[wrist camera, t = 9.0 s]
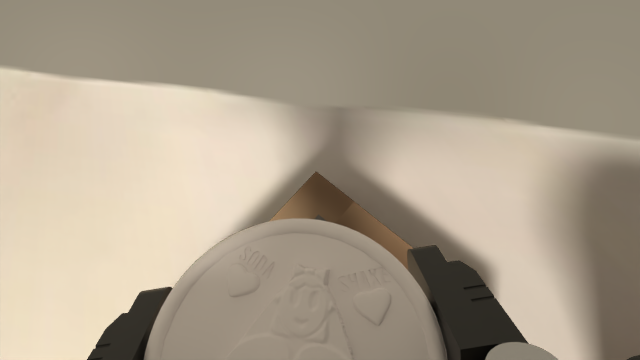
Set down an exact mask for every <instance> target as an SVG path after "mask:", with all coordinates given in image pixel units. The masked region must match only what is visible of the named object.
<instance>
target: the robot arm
mask: <svg viewBox="0 0 640 360" xmlns="http://www.w3.org/2000/svg"><path fill="white" fill-rule="evenodd" d="M407 262H408V271H409V272H410V274H411V275H412V276H413V277H414V279H415V280H416V282H417V283H418V284H419V286H420V287H421V289H422V290H423V292H424V294H425V296H426V297H427V299H428V301H429V303H430V305H431V307H432V309H433V311H434V313H435V315H436V318H437V321H438V324H439V326H440V329H441V332H442V336H443V340H444V344H445V348H446V353H447V359H448V360H558V359H557V358H556V357H554V356H553V355H552V354H550V353H549V352H547V351H546V350H544V349H542V348H540V347H537V346H534V345H531V344H528V342H527V341H526V340H525V338H524V337H523V335H522V334H521V333H520V331H519V330H518V329H517V327H516V326H515V324H514V323H513V322H512V320H511V319H510V317H509V316H508V315H507V313H506V312H505V311H504V309H503V308H502V306H501V305H500V304H499V302H498V301H497V300H496V299H494V295H493V294H492V293H491V291H490V290H489V289H488V287H486V285H485V283H484V282H483V280H482V279H481V278H480V276H479V275H478V273H477V272H476V271H475V270H474V269H472V268H471V267H469V266H467V265H466V264H464V263H463V262H461V261H453V262H447V261H446V260H445V258H444V257H443V255H442V254H441V252H440V250H439V249H438V247H437V246H436V245H432V246H426V247H419V248H413V249H408V251H407ZM172 289H173V288H171V287H165V288H159V289H153V290H146V291H142V292H140V293H139V295H138V296H137V298H136V300H135V302H134V303H133V305H132V307H131V309H130V310H129V312H128V313H123V314H121V315H120V316H119V317H118V318H117V319H116V320H115V321H114V322H113V323H112V324H111V325H109V326H108V327H107V328H106V329H105V331H104V333H103V334H102V336H101V338H100V339H99V341H98V342H97V344H96V349H93V351H92V352H91V354H90V356H89V357H88V359H87V360H144V355H145V351H146V347H147V343H148V340H149V336H150V333H151V331H152V328H153V325H154V322H155V320H156V318H157V316H158V314H159V312H160V309H161V307H162V306H163V304H164V302H165V300H166V298H167V297H168V295H169V293H170V292H171V291H172ZM627 360H640V355H638V356H634V357H631V358H629V359H627Z"/></svg>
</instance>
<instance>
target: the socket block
mask: <svg viewBox="0 0 640 360" xmlns="http://www.w3.org/2000/svg"><path fill="white" fill-rule="evenodd" d="M292 218H301V219H315V220H322V221H327V222H332V223H335V224H339V225H342V226H345V227H348V228H350V229H352V230H355V231H357V232H359V233H361V234H363V235H365V236H367V237H369V238H370V239H372V240H373V241H375V242H377V243H378V244H380V245H381V246H382V247H384V248H385V249H386V250H387V251H389V252H390V253H391V254H392V255H393V256H394V257H395V258H396V259H398V260H399V261H400V262H401V263H402V264H403V265H404V267H405V268H406V269H407V270H408V262H407V251H408V249H413V248H412V247H411V246H410V245H409V244H407V243H406V242H405V241H404V240H402V239H401V238H400V237H398V236H397V235H396V234H395V233H393V232H392V231H391V230H390V229H388V228H387V227H386V226H385V225H383V224H382V223H381V222H380V221H378V220H377V219H376V218H374V217H373V216H372V215H371V214H369V213H368V212H367V211H366V210H364V209H363V208H362V207H361V206H359V205H358V204H357V203H355V202H354V201H353V200H352V199H350V198H349V197H348V196H347V195H345V194H344V193H343V192H342V191H340V190H339V189H338V188H336V187H335V186H334V185H333V184H331V183H330V182H329V181H328V180H326V179H325V178H324V177H323V176H321V175H320V174H319V173H318V172H315V173H314V174H313V175H312V176H311V177H310V178H309V180H308V181H307V182H306V183H305V184H304V185H303V186H302V187H301V188H300V189H299V190H298V191H297V192H296V193H295V194H294V196H293V197H292V198H291V199H290V200H289V201H288V202H287V203H286V204H285V205H284V206H283V207H282V208H281V209H280V210H279V211H278V213H277V214H276V215H275V216H274V217H273V218H272V219H271V220H270V221H275V220H280V219H292Z"/></svg>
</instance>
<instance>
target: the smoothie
mask: <svg viewBox="0 0 640 360" xmlns="http://www.w3.org/2000/svg"><path fill="white" fill-rule="evenodd" d="M144 360H448V359H447V353H446V348H445V344H444V340H443V336H442V332H441V329H440V326H439V324H438V321H437V318H436V315H435V313H434V311H433V309H432V307H431V305H430V303H429V301H428V299H427V297H426V296H425V294H424V292H423V290H422V289H421V287H420V286H419V284H418V283H417V282H416V280H415V279H414V277H413V276H412V275H411V274H410V272H409V271H408V270H407V269H406V268H405V267H404V265H403V264H402V263H401V262H400V261H399V260H398V259H396V258H395V257H394V256H393V255H392V254H391V253H390V252H389V251H387V250H386V249H385V248H384V247H382V246H381V245H380V244H378V243H377V242H375V241H373V240H372V239H370V238H369V237H367V236H365V235H363V234H361V233H359V232H357V231H355V230H352V229H350V228H348V227H345V226H342V225H339V224H335V223H332V222H327V221H322V220H315V219H301V218H292V219H280V220H275V221H269V222H265V223H261V224H258V225H254V226H252V227H249V228H246V229H244V230H241V231H239V232H237V233H235V234H233V235H231V236H229V237H228V238H226V239H224V240H223V241H221V242H219V243H218V244H216V245H215V246H214V247H212V248H211V249H209V250H208V251H207V252H206V253H204V254H203V255H202V256H201V257H200V258H199V259H198V260H196V261H195V262H194V264H193V265H192V266H191V267H190V268H189V269H188V270H187V271H186V272H185V273H184V274H183V276H182V277H181V278H180V279H179V281H178V282H177V283H176V285H175V286H174V288H173V289H172V291H171V292H170V293H169V295H168V297H167V298H166V300H165V302H164V304H163V306H162V307H161V309H160V312H159V314H158V316H157V318H156V320H155V322H154V325H153V328H152V331H151V333H150V336H149V340H148V343H147V347H146V351H145V355H144Z"/></svg>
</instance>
